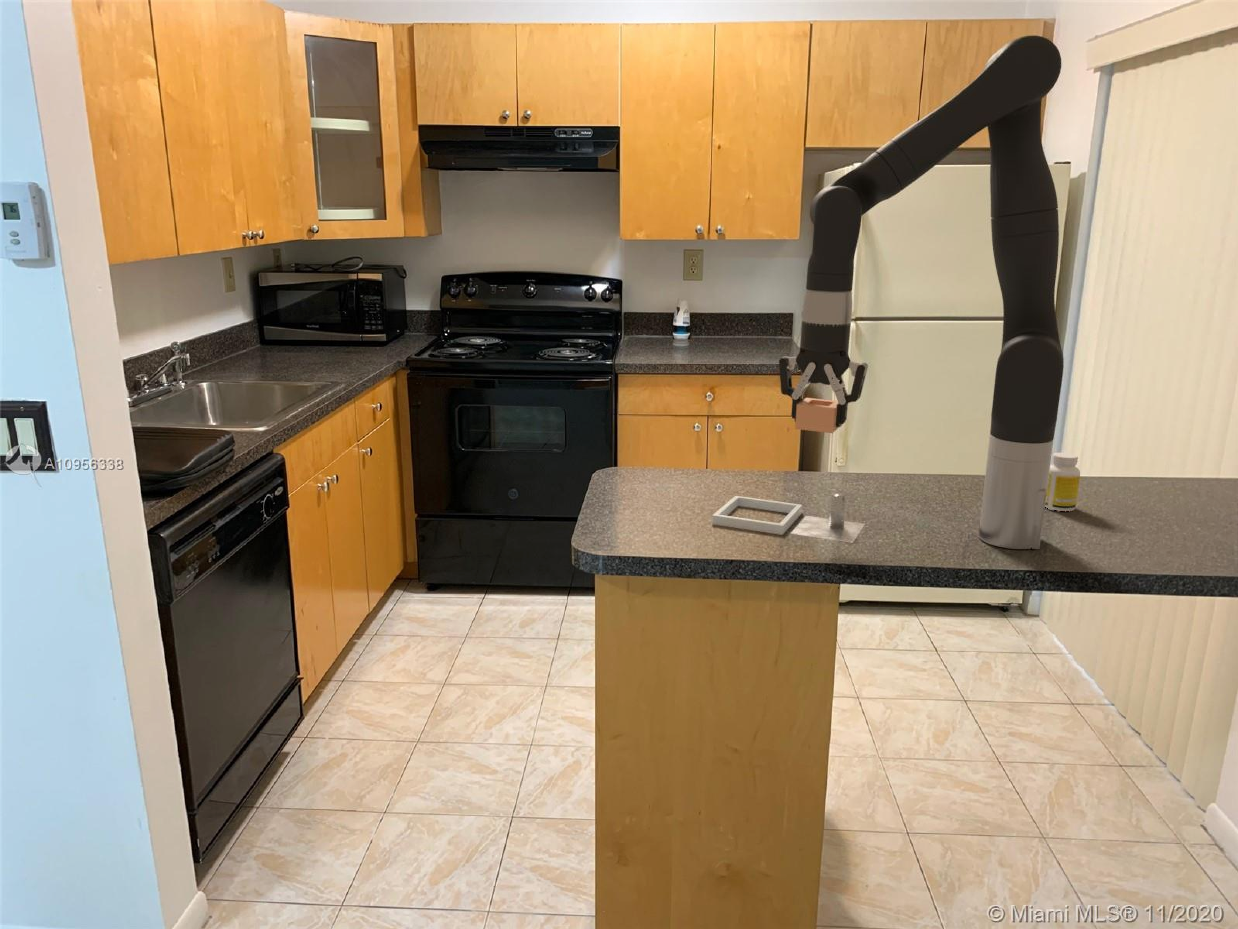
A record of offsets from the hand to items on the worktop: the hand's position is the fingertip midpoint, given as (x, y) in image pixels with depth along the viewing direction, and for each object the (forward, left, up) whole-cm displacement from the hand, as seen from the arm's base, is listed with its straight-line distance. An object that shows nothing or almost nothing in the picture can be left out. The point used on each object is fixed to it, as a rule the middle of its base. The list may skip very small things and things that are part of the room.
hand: (818, 423), depth 149 cm
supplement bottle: (-37, -31, -18) cm, 52 cm away
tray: (+9, +1, -18) cm, 20 cm away
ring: (0, 0, -1) cm, 1 cm away
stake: (-3, +1, -18) cm, 18 cm away
